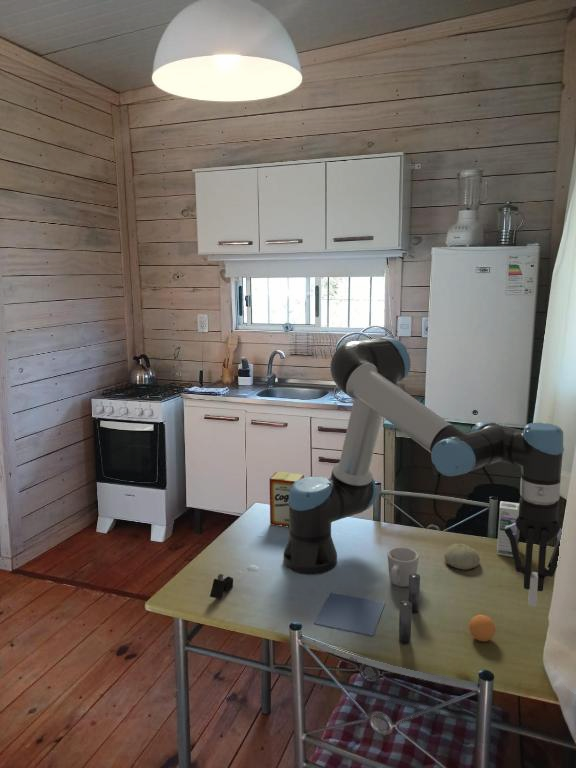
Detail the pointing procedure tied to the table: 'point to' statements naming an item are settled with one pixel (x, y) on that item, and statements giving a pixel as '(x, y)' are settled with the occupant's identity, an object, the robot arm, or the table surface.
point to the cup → (402, 565)
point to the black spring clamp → (221, 586)
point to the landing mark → (350, 613)
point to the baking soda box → (281, 496)
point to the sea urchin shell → (461, 556)
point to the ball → (482, 628)
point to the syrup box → (506, 516)
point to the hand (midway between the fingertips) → (532, 602)
